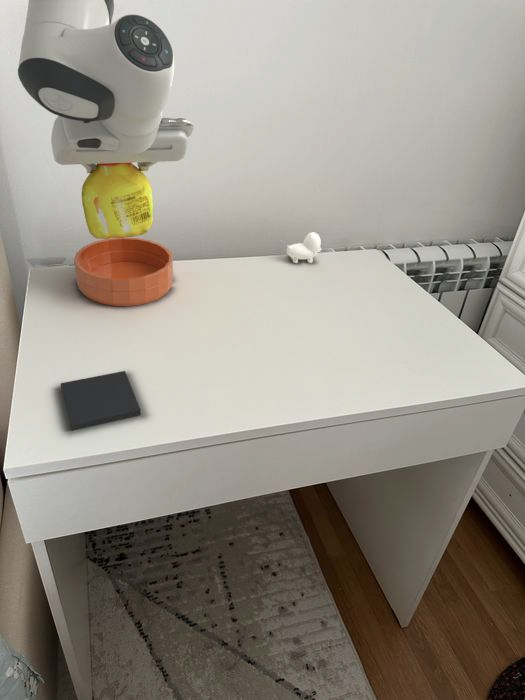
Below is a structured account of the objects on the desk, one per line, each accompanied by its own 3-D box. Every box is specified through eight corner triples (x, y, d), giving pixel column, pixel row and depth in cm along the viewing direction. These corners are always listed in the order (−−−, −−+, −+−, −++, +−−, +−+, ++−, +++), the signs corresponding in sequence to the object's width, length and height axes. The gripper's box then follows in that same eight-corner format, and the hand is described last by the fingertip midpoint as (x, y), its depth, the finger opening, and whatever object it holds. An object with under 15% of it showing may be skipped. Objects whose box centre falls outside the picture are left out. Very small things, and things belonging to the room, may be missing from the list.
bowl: (87, 313, 91) (83, 285, 88) (71, 268, 104) (67, 242, 101) (184, 299, 98) (184, 272, 95) (158, 258, 111) (157, 233, 107)
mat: (71, 430, 69) (70, 425, 68) (61, 388, 75) (60, 383, 75) (140, 415, 72) (140, 409, 72) (125, 376, 79) (125, 370, 78)
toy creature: (323, 264, 115) (327, 237, 111) (287, 265, 113) (290, 237, 110) (316, 255, 119) (321, 228, 115) (282, 255, 117) (285, 228, 113)
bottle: (89, 246, 90) (74, 121, 79) (83, 232, 95) (68, 111, 84) (158, 239, 95) (154, 119, 84) (149, 225, 100) (143, 110, 88)
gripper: (192, 100, 81) (173, 149, 93) (48, 98, 73) (49, 152, 85) (201, 139, 80) (180, 182, 93) (57, 141, 72) (56, 189, 85)
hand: (116, 168), depth 89 cm, fingers closed on bottle, 7 cm apart
